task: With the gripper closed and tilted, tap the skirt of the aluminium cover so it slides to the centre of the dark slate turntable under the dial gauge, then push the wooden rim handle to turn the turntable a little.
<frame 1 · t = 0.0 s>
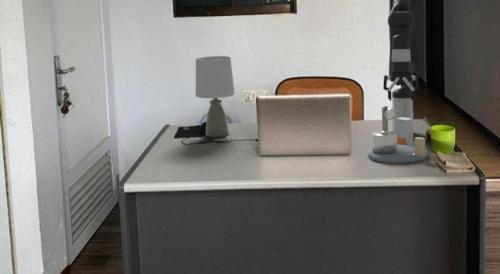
hand: (401, 100, 312), 22 cm above the table, tool pointing down, fingers open, 8 cm apart
skincare box: (404, 145, 329), on the table
lamp: (217, 135, 366), on the table
turntable: (397, 145, 311), point 5 cm above the table, hinge at 0.0°, touching cover
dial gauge: (385, 147, 327), on the table
cover: (384, 151, 313), point 2 cm above the table, touching turntable
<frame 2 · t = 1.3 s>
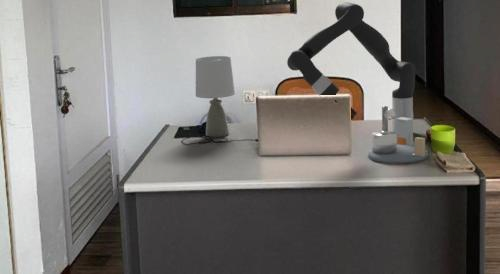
hand: (354, 116, 313), 17 cm above the table, tool tilted 45°, fingers open, 6 cm apart
nothing on the table moved.
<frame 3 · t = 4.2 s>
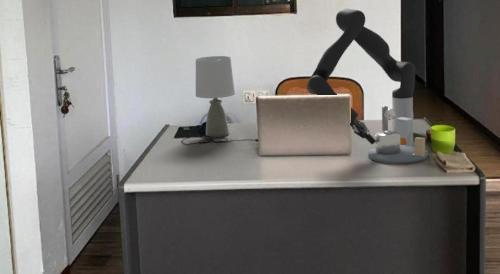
hand: (374, 142, 313), 6 cm above the table, tool tilted 45°, fingers closed
turntable: (397, 145, 311), point 5 cm above the table, hinge at 0.3°
cover: (387, 151, 312), point 2 cm above the table, touching gripper
everything else where it was.
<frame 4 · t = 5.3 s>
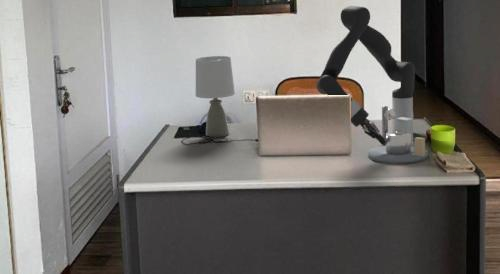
hand: (384, 142, 312), 6 cm above the table, tool tilted 45°, fingers closed
turntable: (397, 145, 311), point 5 cm above the table, hinge at -0.3°, touching cover
cover: (398, 151, 311), point 2 cm above the table, touching gripper, turntable
everything else where it was.
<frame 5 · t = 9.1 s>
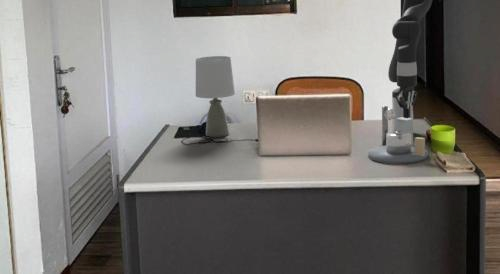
hand: (406, 117, 295), 19 cm above the table, tool pointing down, fingers closed
cover: (398, 151, 311), point 2 cm above the table, touching turntable
everything else where it was.
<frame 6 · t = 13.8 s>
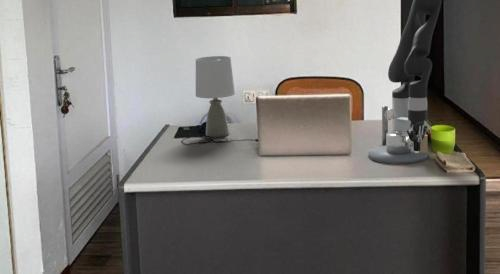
hand: (416, 150, 304), 4 cm above the table, tool pointing down, fingers closed
turntable: (397, 145, 311), point 5 cm above the table, hinge at 28.4°, touching cover, hand
everything else where it was.
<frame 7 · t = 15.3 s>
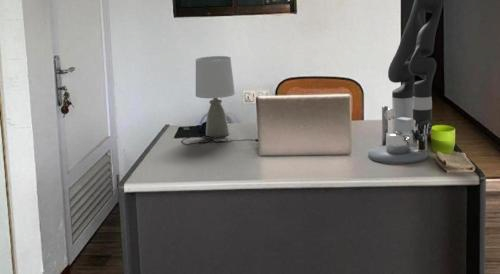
hand: (421, 149, 307), 4 cm above the table, tool pointing down, fingers closed
turntable: (397, 145, 311), point 5 cm above the table, hinge at 43.1°, touching cover, hand
everything else where it was.
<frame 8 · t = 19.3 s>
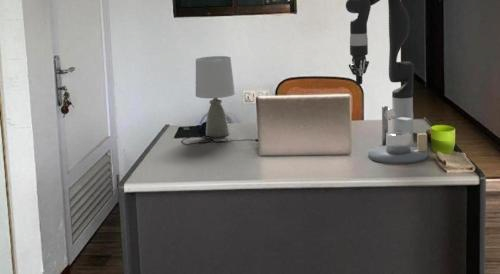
hand: (359, 84, 328), 27 cm above the table, tool pointing down, fingers closed
turntable: (397, 145, 311), point 5 cm above the table, hinge at 43.5°, touching cover
everything else where it was.
at the end: cover 0.4 cm off-centre on the turntable, point 2.0 cm above the turntable's base; cover tilted 0°; turntable at +44° (first picture: +0°) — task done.
